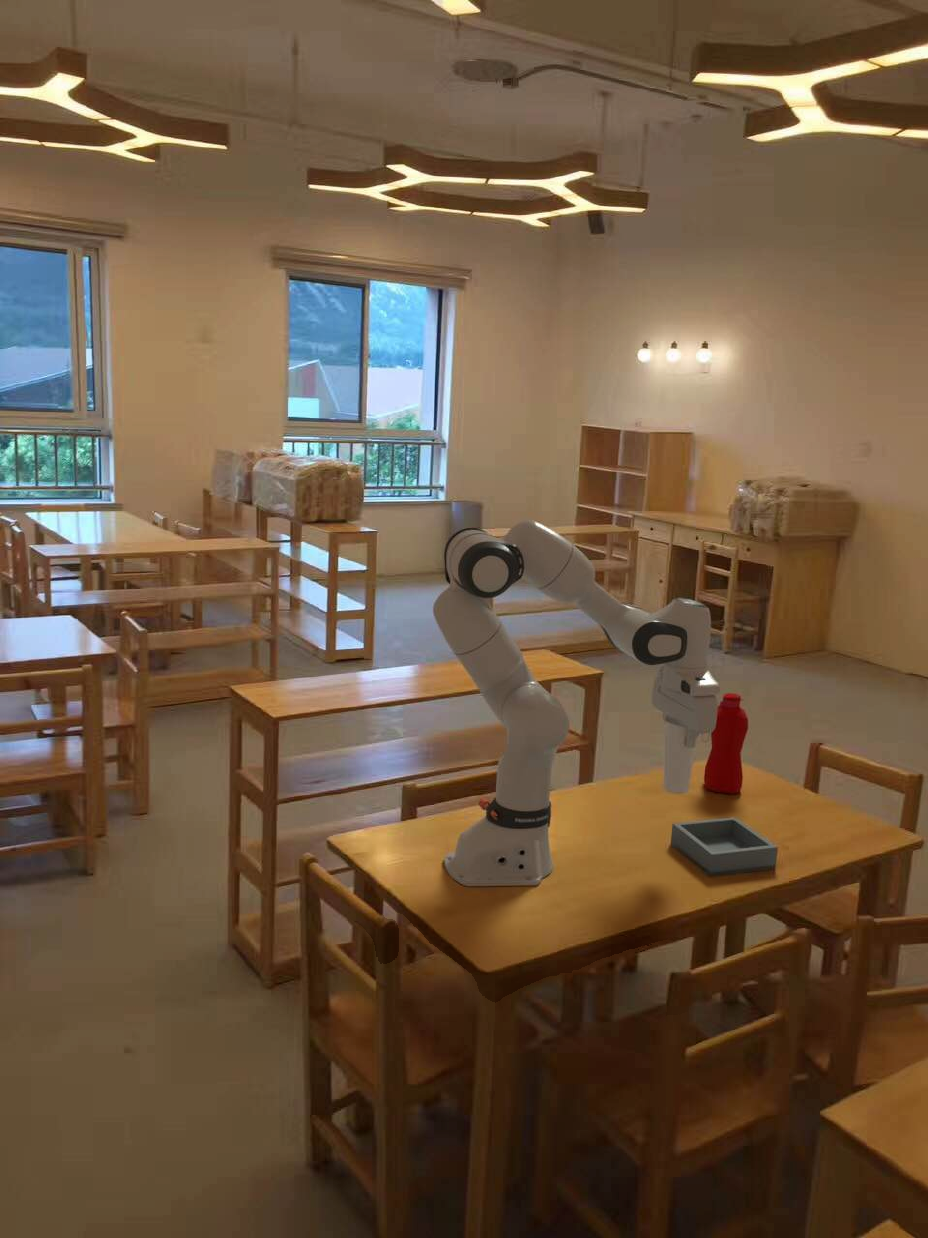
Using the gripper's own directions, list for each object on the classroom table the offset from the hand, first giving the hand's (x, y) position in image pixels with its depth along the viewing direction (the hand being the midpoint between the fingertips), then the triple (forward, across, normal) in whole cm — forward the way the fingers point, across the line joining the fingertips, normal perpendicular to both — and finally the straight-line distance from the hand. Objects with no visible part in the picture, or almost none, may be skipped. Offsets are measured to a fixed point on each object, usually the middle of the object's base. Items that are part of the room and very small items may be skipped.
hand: (679, 740), depth 210 cm
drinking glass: (+11, 0, 0) cm, 11 cm away
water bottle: (+27, -34, +34) cm, 55 cm away
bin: (+27, +2, +12) cm, 29 cm away
